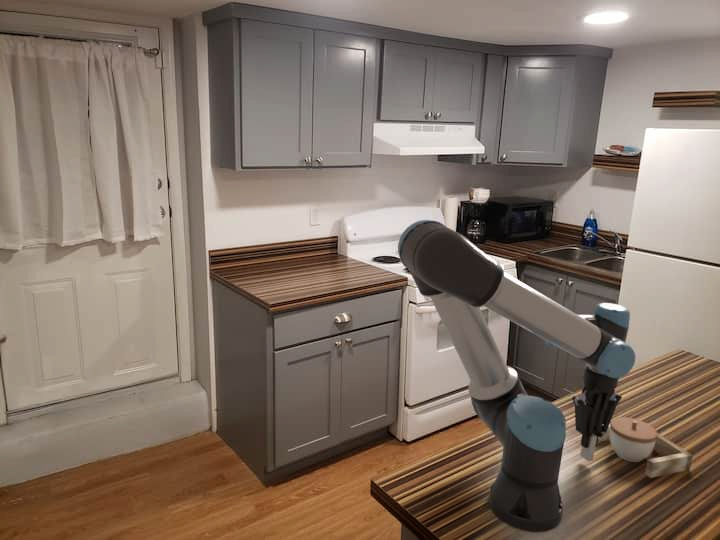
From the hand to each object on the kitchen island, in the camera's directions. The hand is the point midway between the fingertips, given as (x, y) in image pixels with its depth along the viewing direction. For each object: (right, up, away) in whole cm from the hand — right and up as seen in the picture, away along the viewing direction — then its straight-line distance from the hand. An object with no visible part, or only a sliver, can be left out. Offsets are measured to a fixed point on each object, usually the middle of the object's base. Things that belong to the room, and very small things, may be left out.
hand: (586, 457), depth 138 cm
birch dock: (+16, -1, +6) cm, 17 cm away
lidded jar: (+13, -1, +5) cm, 14 cm away
